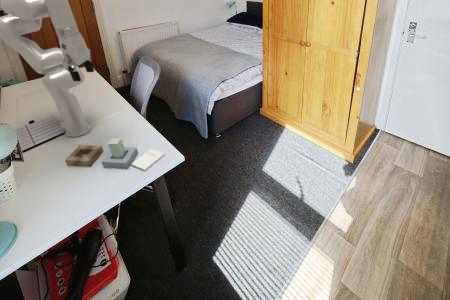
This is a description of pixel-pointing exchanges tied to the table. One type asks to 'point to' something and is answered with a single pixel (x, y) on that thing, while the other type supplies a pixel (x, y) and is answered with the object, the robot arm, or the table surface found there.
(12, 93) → the table surface
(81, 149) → the socket
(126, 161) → the socket
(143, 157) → the external hard drive
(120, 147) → the plug
